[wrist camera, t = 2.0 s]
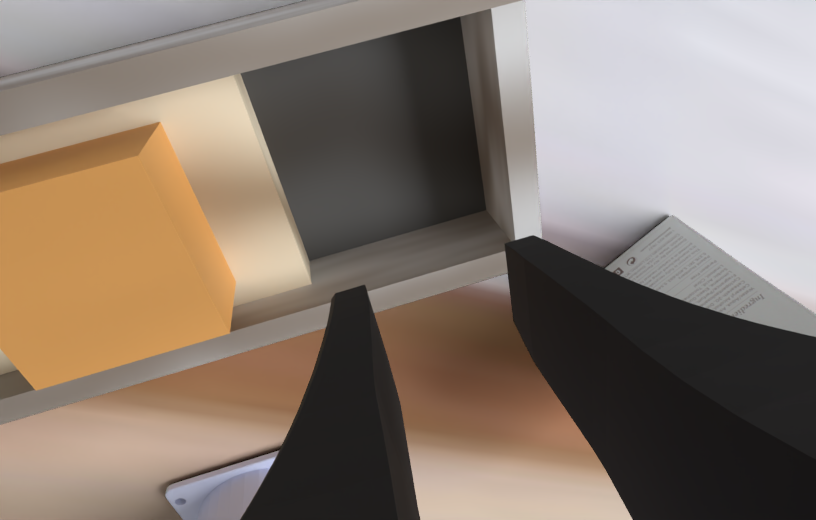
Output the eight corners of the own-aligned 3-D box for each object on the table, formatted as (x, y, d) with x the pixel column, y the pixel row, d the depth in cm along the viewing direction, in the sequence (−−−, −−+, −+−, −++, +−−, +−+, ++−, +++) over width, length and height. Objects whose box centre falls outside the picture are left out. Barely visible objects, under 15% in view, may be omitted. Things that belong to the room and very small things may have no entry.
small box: (562, 298, 25) (777, 565, 14) (671, 210, 24) (999, 430, 13) (635, 374, 29) (846, 627, 19) (731, 302, 28) (1021, 529, 17)
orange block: (235, 281, 19) (229, 333, 16) (68, 329, 18) (36, 390, 16) (160, 121, 16) (138, 155, 13) (-45, 175, 15) (-109, 221, 13)
